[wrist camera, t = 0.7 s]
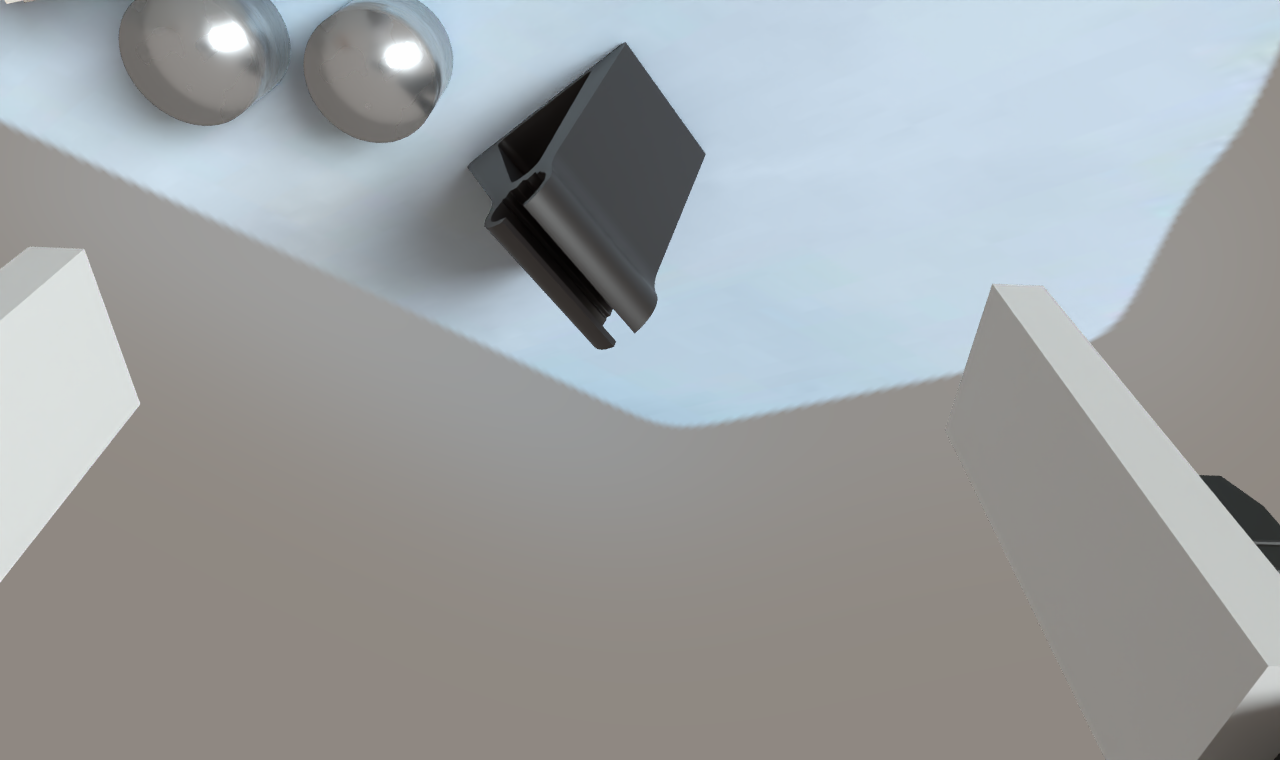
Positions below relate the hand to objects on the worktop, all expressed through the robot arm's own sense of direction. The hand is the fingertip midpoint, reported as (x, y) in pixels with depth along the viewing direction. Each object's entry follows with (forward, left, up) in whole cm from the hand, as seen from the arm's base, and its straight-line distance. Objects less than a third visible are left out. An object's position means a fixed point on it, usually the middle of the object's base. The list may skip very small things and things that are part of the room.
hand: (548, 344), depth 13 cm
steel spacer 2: (0, -9, -27) cm, 28 cm away
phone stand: (+6, -2, -27) cm, 28 cm away
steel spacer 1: (-2, -16, -27) cm, 31 cm away
